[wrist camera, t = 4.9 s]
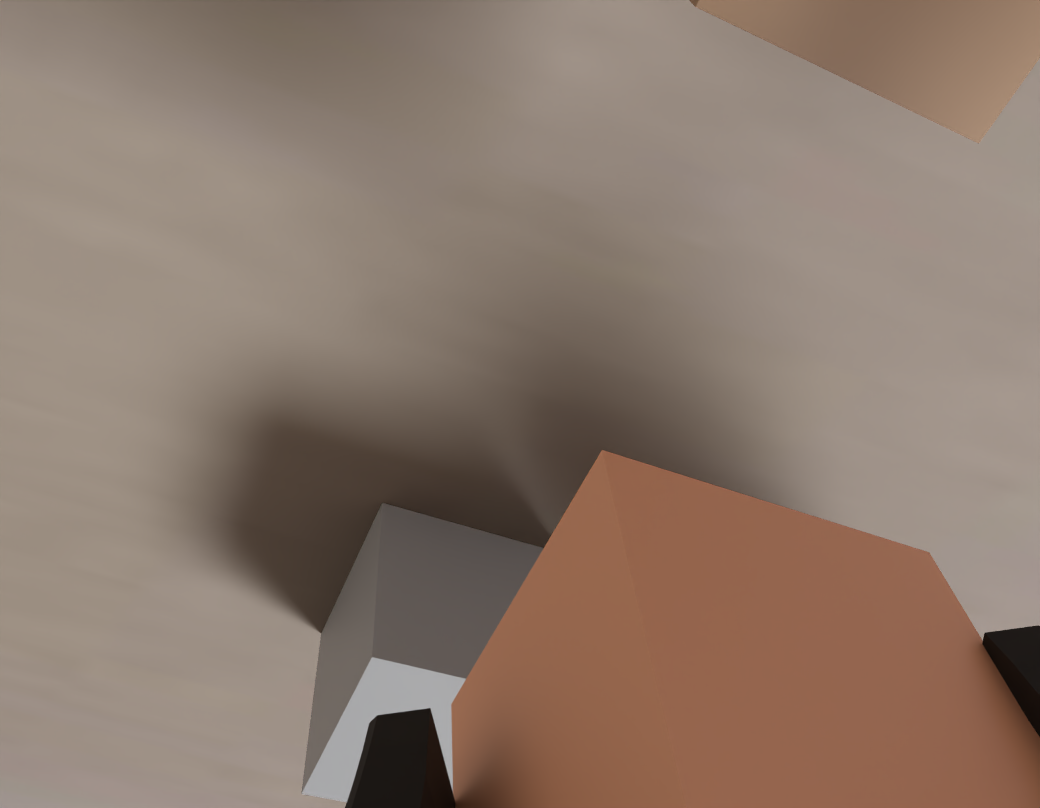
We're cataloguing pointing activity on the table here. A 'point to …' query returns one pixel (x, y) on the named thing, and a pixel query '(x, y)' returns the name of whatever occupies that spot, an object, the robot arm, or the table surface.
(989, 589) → the table surface
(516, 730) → the terracotta block
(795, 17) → the wooden cube
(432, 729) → the robot arm
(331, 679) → the light gray block
